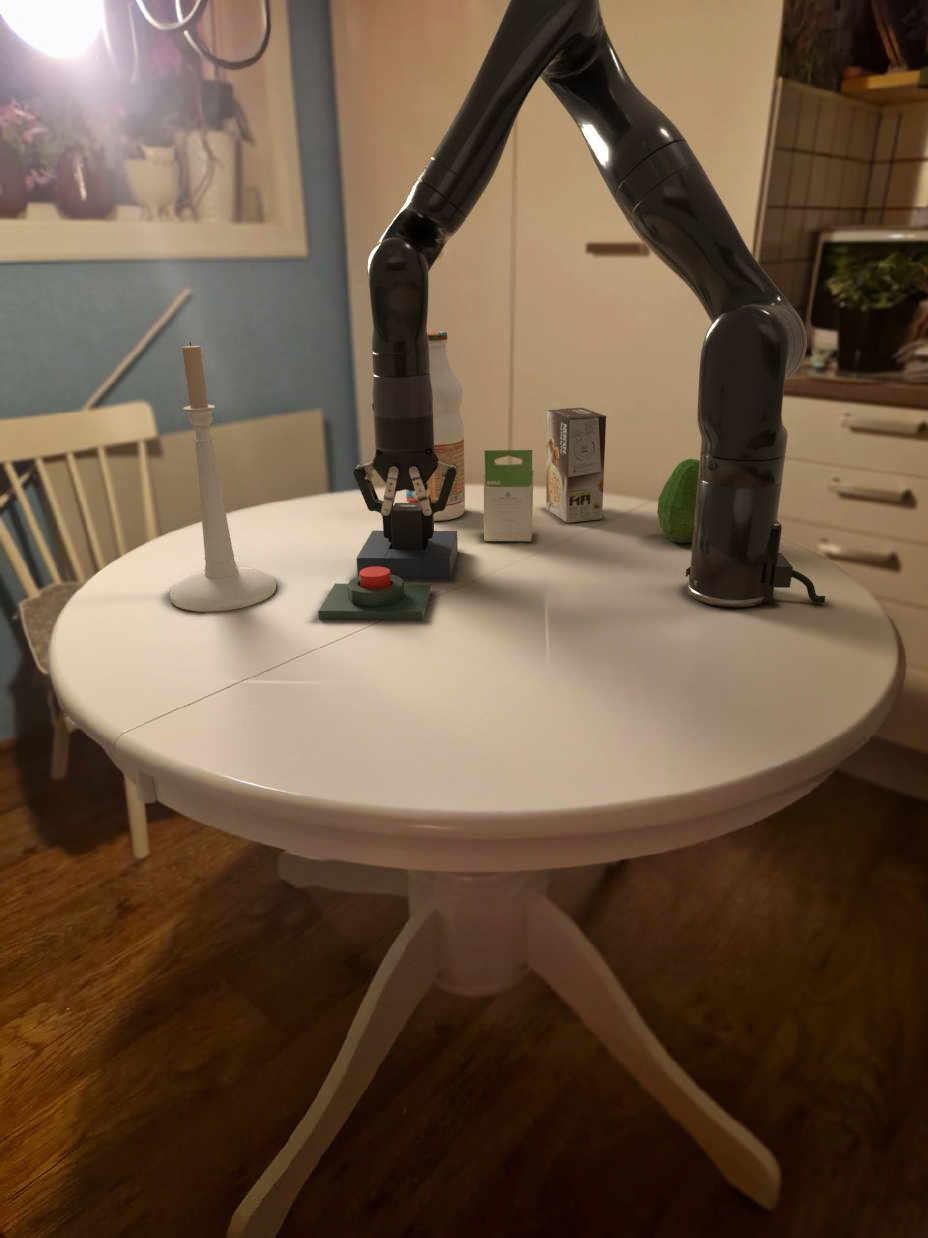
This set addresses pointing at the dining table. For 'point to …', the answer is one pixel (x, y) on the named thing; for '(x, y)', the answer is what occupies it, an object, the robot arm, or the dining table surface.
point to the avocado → (679, 502)
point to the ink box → (508, 496)
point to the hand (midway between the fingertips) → (409, 540)
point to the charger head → (407, 526)
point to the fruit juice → (445, 428)
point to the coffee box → (575, 464)
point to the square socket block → (411, 557)
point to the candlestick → (213, 519)
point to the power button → (375, 578)
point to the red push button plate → (376, 601)
